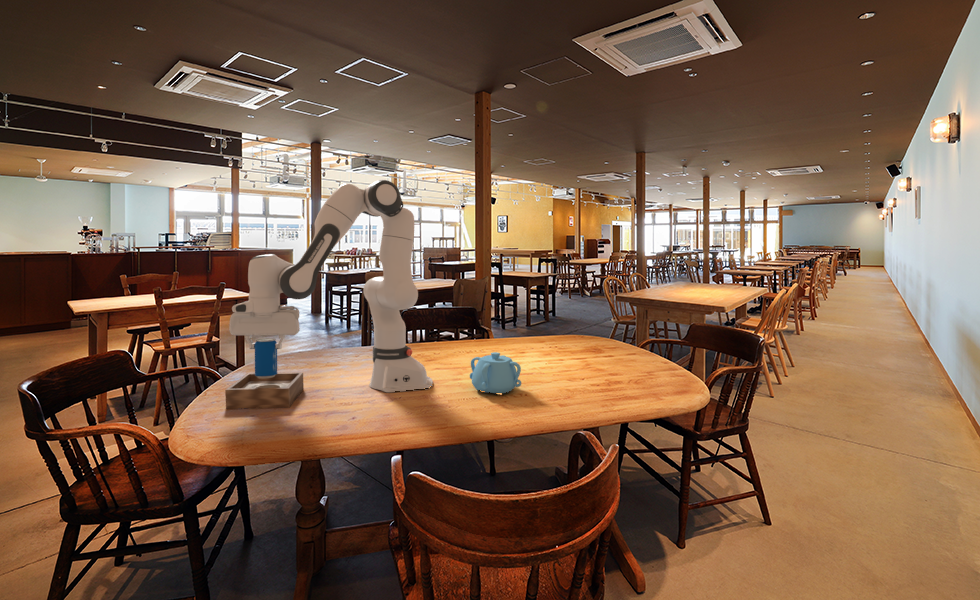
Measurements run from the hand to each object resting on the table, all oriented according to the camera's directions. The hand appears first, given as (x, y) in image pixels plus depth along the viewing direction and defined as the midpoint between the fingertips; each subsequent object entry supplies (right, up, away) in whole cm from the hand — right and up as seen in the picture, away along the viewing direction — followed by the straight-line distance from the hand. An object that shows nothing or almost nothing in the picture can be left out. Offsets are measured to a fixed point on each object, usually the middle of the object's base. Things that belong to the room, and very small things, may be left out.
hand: (265, 348), depth 147 cm
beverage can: (0, -9, +1) cm, 9 cm away
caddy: (0, -16, +2) cm, 16 cm away
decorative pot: (+73, -17, +17) cm, 77 cm away
